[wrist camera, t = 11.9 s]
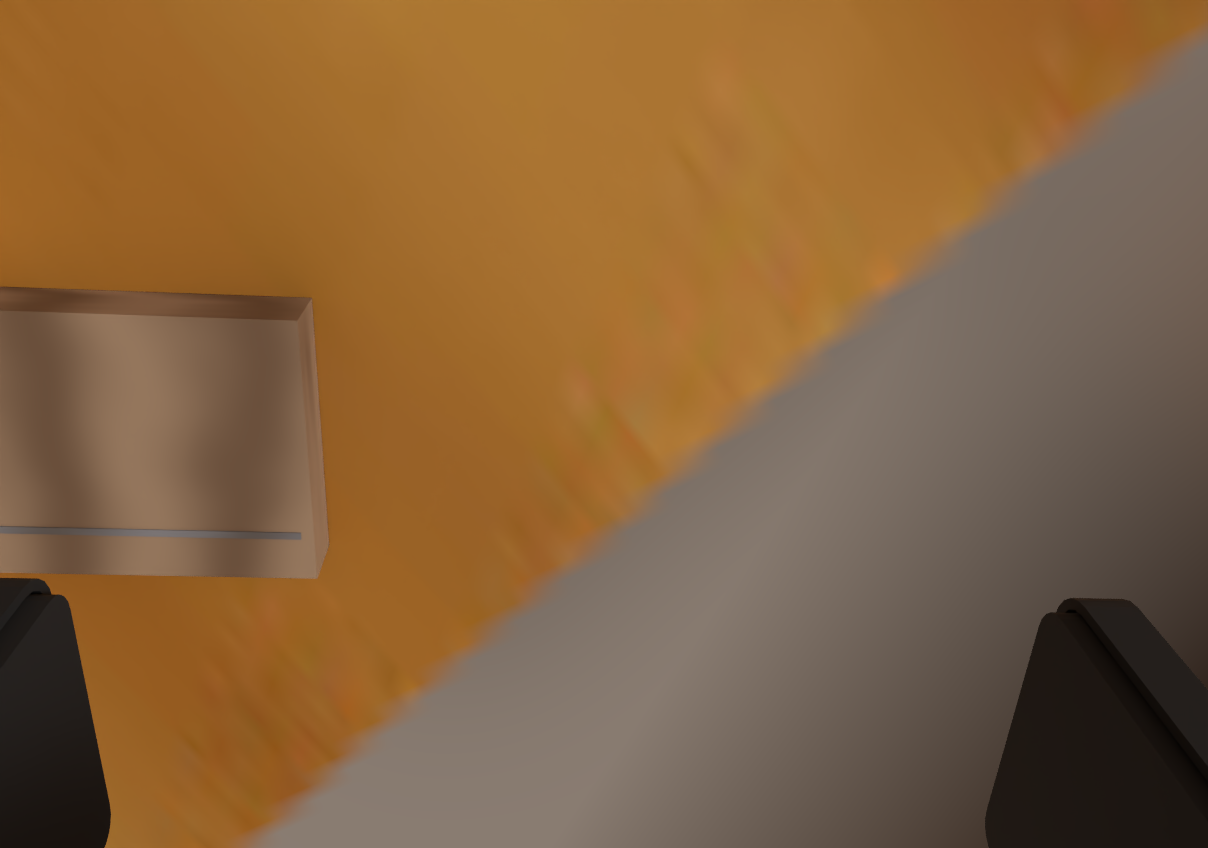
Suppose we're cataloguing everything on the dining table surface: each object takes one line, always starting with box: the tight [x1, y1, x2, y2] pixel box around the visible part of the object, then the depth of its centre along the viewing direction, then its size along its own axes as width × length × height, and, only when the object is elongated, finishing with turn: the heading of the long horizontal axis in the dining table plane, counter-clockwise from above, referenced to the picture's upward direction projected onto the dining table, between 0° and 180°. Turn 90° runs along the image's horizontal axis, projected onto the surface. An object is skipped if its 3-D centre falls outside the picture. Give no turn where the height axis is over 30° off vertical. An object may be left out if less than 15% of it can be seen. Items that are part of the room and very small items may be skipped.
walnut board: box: [0, 287, 329, 579], centre depth 40 cm, size 20×11×3 cm, turn 87°
